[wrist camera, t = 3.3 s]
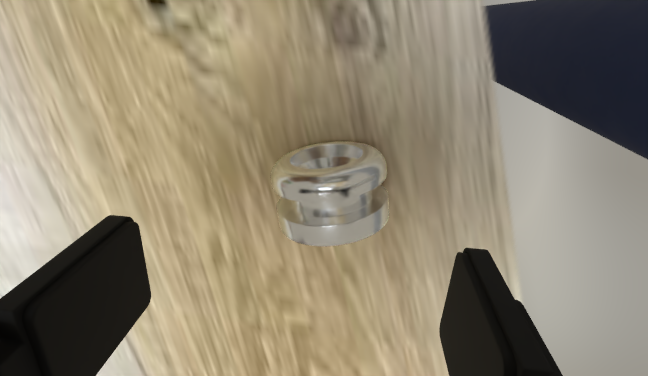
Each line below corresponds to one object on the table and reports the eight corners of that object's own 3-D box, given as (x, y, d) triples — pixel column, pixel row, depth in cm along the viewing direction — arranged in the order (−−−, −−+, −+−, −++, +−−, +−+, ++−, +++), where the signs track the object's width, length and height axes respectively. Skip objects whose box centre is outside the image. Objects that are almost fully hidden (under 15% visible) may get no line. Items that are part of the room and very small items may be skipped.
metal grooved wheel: (291, 196, 20) (267, 249, 15) (282, 142, 19) (253, 182, 14) (387, 190, 19) (392, 244, 14) (383, 133, 18) (388, 172, 13)
